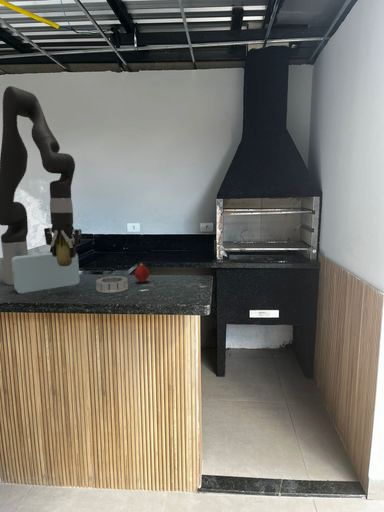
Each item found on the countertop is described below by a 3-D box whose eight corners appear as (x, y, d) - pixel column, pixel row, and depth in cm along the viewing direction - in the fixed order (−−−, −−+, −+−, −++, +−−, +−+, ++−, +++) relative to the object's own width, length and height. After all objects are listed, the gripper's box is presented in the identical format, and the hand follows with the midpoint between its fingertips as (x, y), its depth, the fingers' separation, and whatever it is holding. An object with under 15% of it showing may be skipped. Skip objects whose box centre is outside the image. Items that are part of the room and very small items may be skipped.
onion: (142, 280, 144) (142, 261, 143) (152, 282, 141) (151, 263, 139) (132, 282, 140) (131, 263, 138) (141, 285, 136) (141, 265, 135)
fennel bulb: (54, 265, 125) (52, 233, 123) (67, 263, 128) (65, 232, 126) (61, 268, 121) (59, 234, 119) (74, 266, 124) (73, 233, 122)
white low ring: (90, 292, 127) (89, 283, 126) (105, 283, 138) (105, 275, 138) (120, 294, 124) (119, 284, 124) (133, 285, 136) (132, 276, 135)
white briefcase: (75, 281, 144) (73, 250, 141) (79, 283, 139) (77, 251, 137) (14, 290, 130) (10, 256, 128) (17, 294, 125) (13, 258, 123)
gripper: (37, 210, 119) (40, 257, 122) (73, 212, 116) (76, 260, 119) (50, 209, 126) (53, 254, 129) (85, 211, 123) (87, 256, 126)
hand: (64, 256), depth 124 cm, fingers closed on fennel bulb, 6 cm apart
